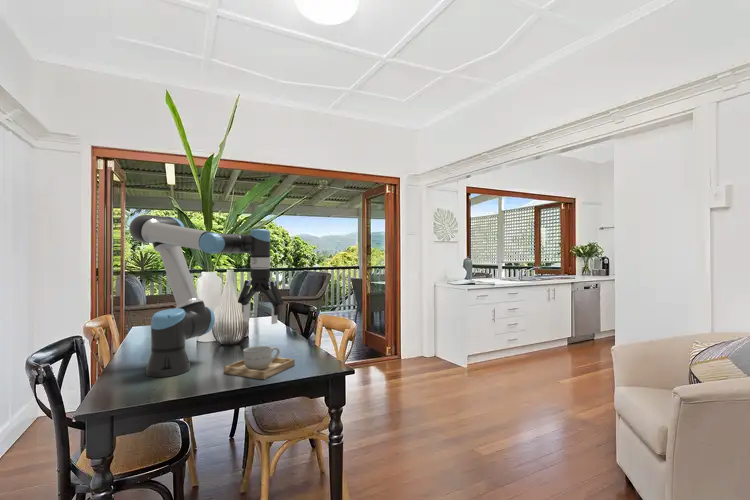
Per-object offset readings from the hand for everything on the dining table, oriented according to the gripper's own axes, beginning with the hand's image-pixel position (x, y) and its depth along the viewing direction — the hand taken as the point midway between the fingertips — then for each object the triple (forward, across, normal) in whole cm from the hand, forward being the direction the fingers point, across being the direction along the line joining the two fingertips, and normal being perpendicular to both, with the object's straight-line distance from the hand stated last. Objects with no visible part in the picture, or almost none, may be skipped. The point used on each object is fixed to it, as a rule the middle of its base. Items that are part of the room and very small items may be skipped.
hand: (260, 322), depth 158 cm
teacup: (+18, +1, 0) cm, 18 cm away
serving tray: (+18, 0, 0) cm, 18 cm away
